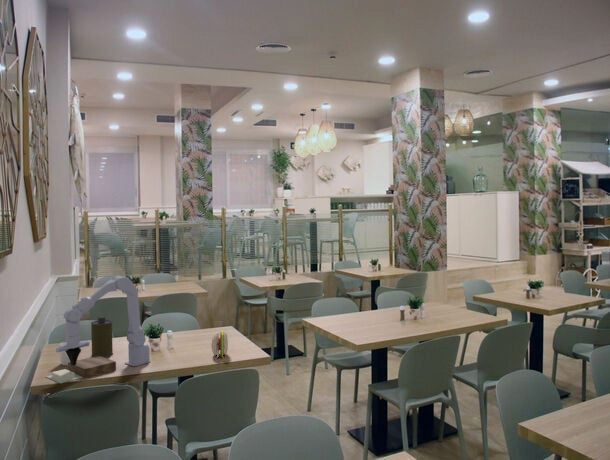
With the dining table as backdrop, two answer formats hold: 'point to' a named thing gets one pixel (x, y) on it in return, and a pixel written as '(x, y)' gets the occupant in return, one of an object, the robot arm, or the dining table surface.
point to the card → (63, 374)
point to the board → (92, 366)
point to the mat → (64, 380)
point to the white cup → (64, 355)
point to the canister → (101, 337)
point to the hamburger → (219, 344)
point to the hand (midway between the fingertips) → (73, 364)
